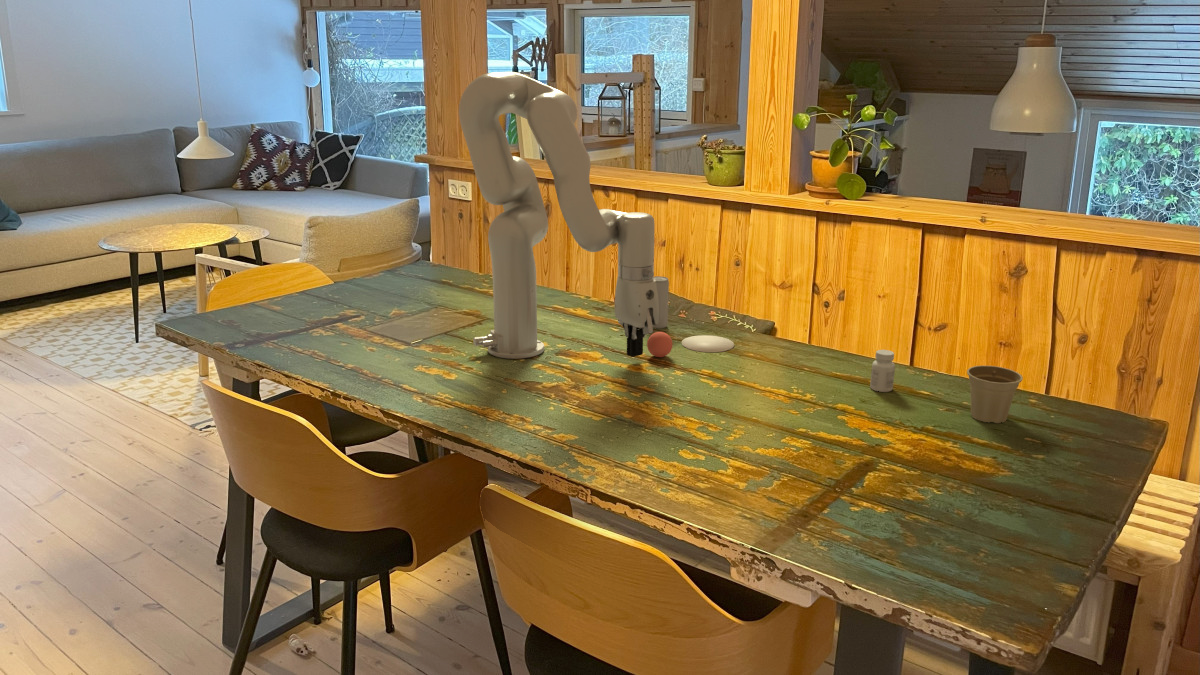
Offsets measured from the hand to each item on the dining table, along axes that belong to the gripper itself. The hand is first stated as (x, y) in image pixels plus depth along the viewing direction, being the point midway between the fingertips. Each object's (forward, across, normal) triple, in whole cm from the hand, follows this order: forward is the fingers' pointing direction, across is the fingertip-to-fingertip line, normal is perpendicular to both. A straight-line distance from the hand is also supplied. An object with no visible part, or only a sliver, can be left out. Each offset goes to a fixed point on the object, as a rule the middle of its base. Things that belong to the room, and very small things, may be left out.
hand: (634, 354), depth 200 cm
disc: (+2, 0, -22) cm, 22 cm away
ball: (-1, 0, -7) cm, 7 cm away
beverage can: (+2, +18, -21) cm, 28 cm away
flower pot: (+2, -62, -34) cm, 71 cm away
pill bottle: (+2, -41, -30) cm, 51 cm away
